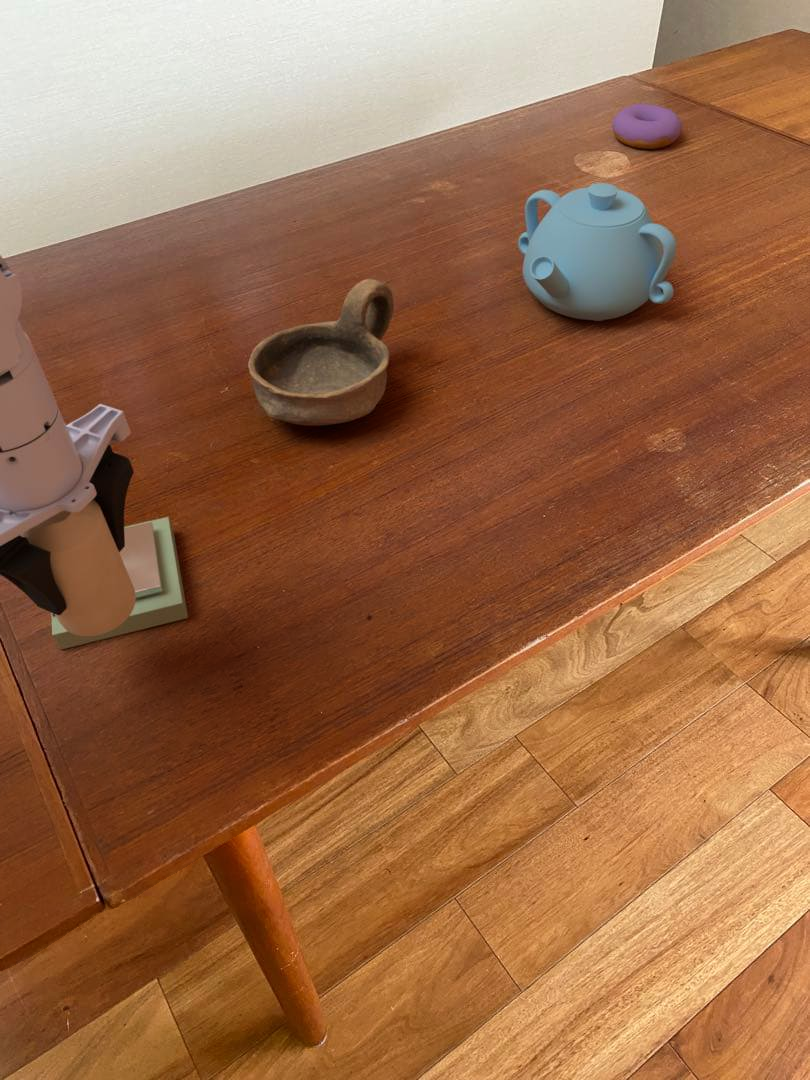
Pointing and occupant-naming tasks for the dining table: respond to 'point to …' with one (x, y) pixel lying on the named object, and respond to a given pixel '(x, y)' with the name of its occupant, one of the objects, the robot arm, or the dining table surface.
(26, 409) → the robot arm
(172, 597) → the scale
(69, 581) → the candle
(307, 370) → the bowl
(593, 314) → the teapot
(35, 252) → the dining table surface
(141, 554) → the thin square metal plate
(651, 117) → the donut
